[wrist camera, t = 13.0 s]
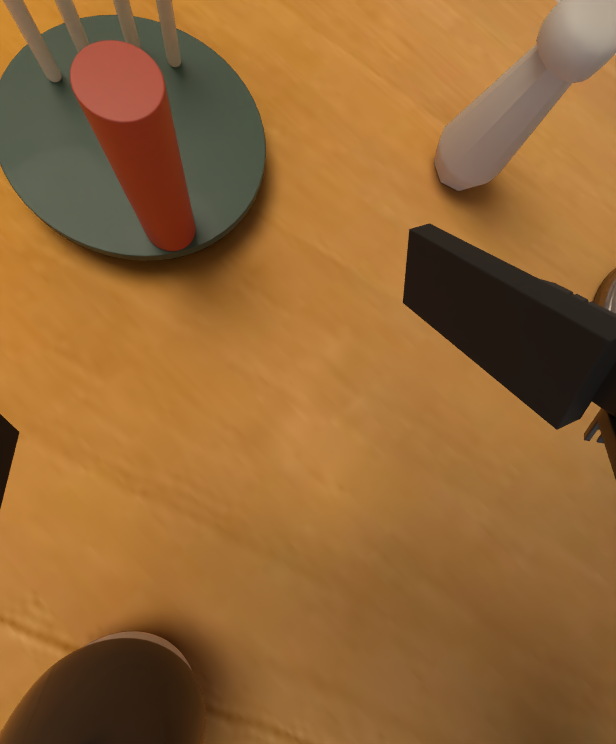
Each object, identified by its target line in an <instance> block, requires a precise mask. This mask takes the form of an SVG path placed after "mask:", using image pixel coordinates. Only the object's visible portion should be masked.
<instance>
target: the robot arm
mask: <svg viewBox="0 0 616 744" xmlns="http://www.w3.org/2000/svg"><path fill="white" fill-rule="evenodd" d="M403 303H404V304H405V305H406V306H407V307H409V308H410V309H411V310H412V311H413V312H415V313H416V314H417V315H418V316H419V317H421V318H422V319H423V320H424V321H426V322H427V323H428V324H429V325H430V326H432V327H433V328H434V329H435V330H436V331H438V332H439V333H440V334H441V335H443V336H444V337H445V338H446V339H447V340H449V341H450V342H451V343H452V344H453V345H455V346H456V347H457V348H458V349H460V350H461V351H462V352H463V353H464V354H466V355H467V356H468V357H469V358H470V359H472V360H473V361H474V362H475V363H476V364H478V365H479V366H480V367H481V368H483V369H484V370H485V371H486V372H487V373H489V374H490V375H491V376H492V377H493V378H495V379H496V380H497V381H498V382H500V383H501V384H502V385H503V386H504V387H506V388H507V389H508V390H509V391H510V392H512V393H513V394H514V395H515V396H517V397H518V398H519V399H520V400H521V401H523V402H524V403H525V404H526V405H527V406H529V407H530V408H531V409H532V410H534V411H535V412H536V413H537V414H538V415H540V416H541V417H542V418H543V419H544V420H546V421H547V422H548V423H549V424H550V425H552V426H553V427H554V428H555V429H559V428H562V427H564V426H566V425H568V424H570V423H572V422H574V421H576V420H578V419H580V418H581V417H582V415H583V414H584V412H585V411H586V409H587V408H588V406H589V404H590V403H591V401H592V402H594V403H595V404H597V405H598V406H599V407H601V410H600V411H599V413H598V414H597V415H596V417H595V418H594V420H593V421H592V423H591V424H590V426H589V427H588V429H587V430H586V431H585V433H584V440H586V441H590V439H591V438H592V437H593V435H594V434H595V432H596V431H597V430H599V429H600V431H601V435H600V436H599V437H598V439H597V442H599V443H604V444H605V447H606V450H607V453H608V456H609V460H610V463H611V466H612V469H613V472H614V476H615V479H616V268H615V269H614V270H613V271H612V272H611V273H610V274H609V275H608V276H607V277H606V278H605V280H604V281H603V283H602V284H601V286H600V288H599V290H598V292H597V294H596V297H595V300H594V302H588V299H586V298H584V297H582V296H580V295H578V294H575V295H574V294H573V292H572V291H570V290H568V289H566V288H564V287H562V286H560V285H558V284H556V283H553V282H549V281H545V280H541V279H538V278H536V277H534V276H532V275H530V274H528V273H526V272H524V271H522V270H520V269H518V268H516V267H514V266H512V265H510V264H508V263H506V262H505V261H503V260H501V259H499V258H497V257H495V256H493V255H491V254H489V253H487V252H485V251H483V250H481V249H479V248H477V247H475V246H473V245H471V244H469V243H467V242H465V241H463V240H461V239H459V238H457V237H455V236H453V235H451V234H449V233H447V232H445V231H443V230H441V229H439V228H437V227H435V226H433V225H431V224H426V225H423V226H419V227H416V228H412V229H409V240H408V251H407V262H406V273H405V284H404V296H403ZM18 435H19V431H18V430H17V429H15V428H14V427H13V426H12V425H11V424H10V423H9V422H8V421H7V420H6V419H5V418H4V417H3V416H2V415H1V414H0V508H1V504H2V500H3V496H4V492H5V488H6V484H7V480H8V476H9V472H10V468H11V464H12V460H13V456H14V452H15V448H16V444H17V439H18Z"/></svg>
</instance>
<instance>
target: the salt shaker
mask: <svg viewBox="0 0 616 744" xmlns="http://www.w3.org/2000/svg"><path fill="white" fill-rule="evenodd" d="M536 41H537V44H536V45H535V46H534V47H533V48H531V49H530V50H529V51H528V52H527V53H526V54H525V55H524V56H523V57H522V58H520V59H519V60H518V61H517V62H516V63H515V64H514V65H513V66H512V67H510V68H509V69H508V70H507V71H506V72H505V73H504V74H503V75H502V76H501V77H499V78H498V79H497V80H496V81H495V82H494V83H493V84H492V85H491V86H489V87H488V88H487V89H486V90H485V91H484V92H483V93H482V94H481V95H479V96H478V97H477V98H476V99H475V100H474V101H473V102H472V103H471V104H470V105H468V106H467V107H466V108H465V109H464V110H463V111H462V112H461V113H460V114H458V115H457V116H456V117H455V118H454V119H453V120H452V121H451V122H450V123H449V124H447V125H446V126H445V128H444V130H443V132H442V135H441V137H440V140H439V143H438V146H437V151H436V155H435V160H434V164H435V167H436V170H437V173H438V176H439V179H440V182H441V183H443V184H445V185H447V186H449V187H451V188H453V189H455V190H457V191H461V190H464V189H468V188H471V187H475V186H479V185H483V184H487V183H488V182H490V181H491V180H492V179H493V178H494V177H495V176H497V175H498V174H499V173H500V172H501V171H502V169H503V168H504V167H505V166H506V164H507V163H508V162H509V161H510V159H511V158H512V157H513V156H514V154H515V153H516V152H517V151H518V149H519V148H520V147H521V146H522V145H523V143H524V142H525V141H526V140H527V138H528V137H529V136H530V135H531V133H532V132H533V131H534V130H535V128H536V127H537V126H538V125H539V124H540V122H541V121H542V120H543V119H544V117H545V116H546V115H547V114H548V112H549V111H550V110H551V109H552V107H553V106H554V105H555V104H556V102H557V101H558V100H559V99H560V98H561V96H562V95H563V94H564V93H565V91H566V90H567V89H568V88H569V86H570V85H571V84H572V83H576V82H582V81H584V80H586V79H588V78H590V77H591V76H592V75H593V74H594V73H596V72H597V71H598V70H599V69H600V68H601V67H602V66H603V65H605V64H606V63H607V62H608V61H609V60H610V59H611V58H612V56H613V55H614V54H615V53H616V0H561V1H560V2H559V3H558V4H557V5H556V6H555V7H554V8H553V9H552V10H551V11H550V13H549V14H548V16H547V17H546V18H545V20H544V21H543V23H542V26H541V28H540V31H539V34H538V37H537V40H536Z"/></svg>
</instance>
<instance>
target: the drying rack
mask: <svg viewBox="0 0 616 744" xmlns="http://www.w3.org/2000/svg"><path fill="white" fill-rule="evenodd" d="M3 1H4V3H5V5H6V6H7V8H8V10H9V12H10V14H11V15H12V17H13V19H14V21H15V22H16V24H17V26H18V28H19V29H20V31H21V33H22V35H23V36H24V38H25V40H26V42H27V43H28V44H27V45H26V46H25V47H24V48H22V50H21V51H20V52H19V53H18V54H17V55H16V56H15V57H14V59H13V60H12V61H11V62H10V64H9V65H8V67H7V69H6V70H5V72H4V73H3V75H2V77H1V80H0V164H1V167H2V169H3V172H4V174H5V175H6V177H7V179H8V181H9V182H10V184H11V186H12V187H13V189H14V190H15V192H16V193H17V194H18V195H19V197H20V198H21V199H22V200H23V202H24V203H25V204H26V205H27V206H28V207H29V208H30V209H31V210H32V211H33V212H34V213H35V214H36V215H37V216H38V217H39V218H40V219H41V220H42V221H43V222H44V223H46V224H47V225H48V226H50V227H51V228H52V229H54V230H55V231H56V232H58V233H59V234H60V235H62V236H64V237H66V238H67V239H69V240H71V241H72V242H74V243H76V244H78V245H80V246H83V247H85V248H87V249H90V250H92V251H95V252H98V253H101V254H105V255H108V256H112V257H117V258H123V259H128V260H143V261H150V260H165V259H171V258H176V257H181V256H185V255H188V254H191V253H194V252H197V251H199V250H201V249H204V248H206V247H208V246H210V245H212V244H213V243H215V242H217V241H218V240H220V239H221V238H223V237H224V236H225V235H227V234H228V233H229V232H230V231H231V230H232V229H234V228H235V227H236V226H237V225H238V223H239V222H240V221H241V220H242V219H243V218H244V217H245V215H246V214H247V212H248V211H249V209H250V208H251V206H252V205H253V203H254V200H255V198H256V196H257V194H258V192H259V189H260V185H261V182H262V178H263V172H264V165H265V157H266V147H265V136H264V128H263V125H262V121H261V117H260V114H259V111H258V109H257V107H256V104H255V102H254V99H253V98H252V96H251V94H250V92H249V91H248V89H247V87H246V85H245V84H244V83H243V81H242V80H241V79H240V77H239V76H238V74H237V73H236V72H235V71H234V70H233V69H232V68H231V66H230V65H229V64H228V63H227V62H226V61H225V60H224V59H223V58H222V57H220V56H219V55H218V54H217V53H216V52H215V51H213V50H212V49H211V48H209V47H208V46H207V45H205V44H204V43H202V42H201V41H199V40H198V39H196V38H194V37H192V36H191V35H189V34H187V33H185V32H183V31H181V30H179V29H176V25H175V18H174V11H173V5H172V0H156V3H157V8H158V14H159V19H160V22H157V21H153V20H150V19H145V18H139V17H134V16H133V14H132V10H131V6H130V2H129V0H113V2H114V5H115V9H116V12H117V15H99V16H92V17H85V18H80V19H79V16H78V14H77V11H76V9H75V6H74V3H73V1H72V0H55V2H56V4H57V6H58V9H59V11H60V13H61V16H62V18H63V20H64V22H65V23H63V24H61V25H58V26H56V27H54V28H51V29H49V30H48V31H46V32H44V33H43V34H40V32H39V30H38V28H37V26H36V24H35V23H34V21H33V19H32V17H31V15H30V13H29V11H28V9H27V7H26V5H25V3H24V1H23V0H3Z"/></svg>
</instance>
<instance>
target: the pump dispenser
mask: <svg viewBox="0 0 616 744" xmlns="http://www.w3.org/2000/svg"><path fill="white" fill-rule="evenodd" d="M205 738H206V707H205V701H204V696H203V693H202V690H201V687H200V685H199V682H198V680H197V678H196V676H195V675H194V673H193V671H192V669H191V667H190V665H189V663H188V662H187V660H186V659H185V657H184V656H183V654H182V653H181V652H180V651H179V650H178V649H177V648H176V647H175V646H174V645H172V644H171V643H170V642H168V641H167V640H165V639H163V638H161V637H159V636H157V635H154V634H150V633H146V632H138V631H129V632H120V633H115V634H111V635H108V636H105V637H102V638H100V639H97V640H95V641H93V642H91V643H89V644H87V645H85V646H84V647H82V648H80V649H78V650H76V651H74V652H72V653H70V654H69V655H67V656H65V657H64V658H62V659H61V660H59V661H58V662H57V663H55V664H54V665H53V666H52V667H50V668H49V669H48V670H47V671H46V672H45V673H44V674H43V675H42V676H41V677H40V678H39V679H38V680H37V681H36V682H35V683H34V684H33V685H32V687H31V688H30V689H29V690H28V692H27V693H26V694H25V695H24V697H23V698H22V700H21V701H20V702H19V704H18V705H17V707H16V708H15V710H14V711H13V713H12V714H11V716H10V717H9V719H8V721H7V722H6V724H5V726H4V727H3V729H2V731H1V733H0V744H205Z"/></svg>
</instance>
